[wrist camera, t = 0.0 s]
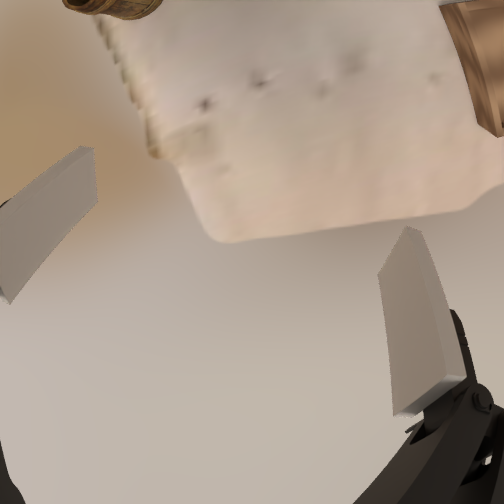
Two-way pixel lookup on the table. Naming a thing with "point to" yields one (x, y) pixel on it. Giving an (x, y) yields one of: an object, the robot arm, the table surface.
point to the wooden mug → (114, 7)
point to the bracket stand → (481, 56)
